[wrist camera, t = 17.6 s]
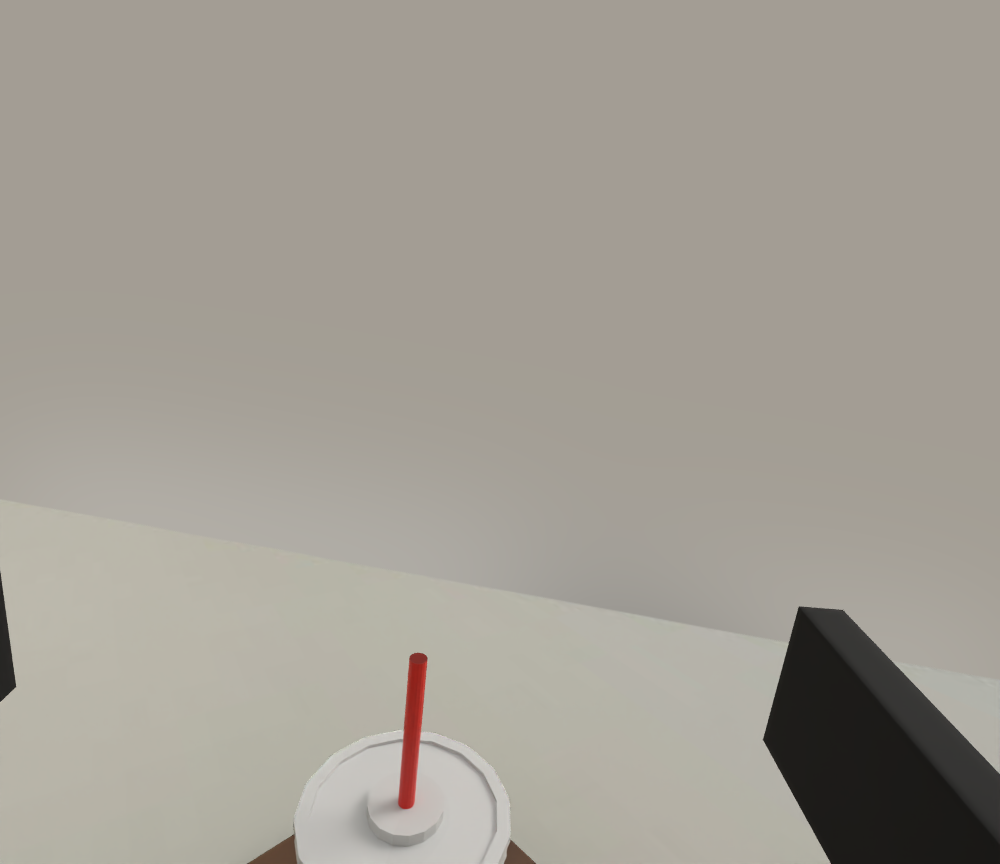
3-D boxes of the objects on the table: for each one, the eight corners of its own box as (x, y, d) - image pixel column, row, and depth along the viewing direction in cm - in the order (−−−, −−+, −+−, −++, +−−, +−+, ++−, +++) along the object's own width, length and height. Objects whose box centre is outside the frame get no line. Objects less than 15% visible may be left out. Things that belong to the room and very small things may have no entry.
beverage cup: (496, 952, 23) (546, 618, 19) (454, 1184, 17) (513, 775, 13) (338, 908, 24) (354, 580, 20) (248, 1115, 18) (246, 711, 14)
